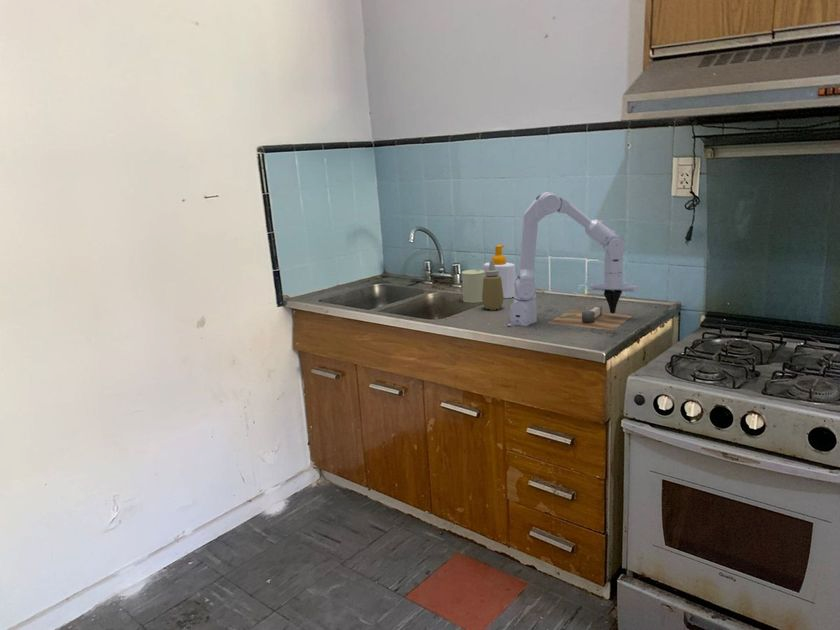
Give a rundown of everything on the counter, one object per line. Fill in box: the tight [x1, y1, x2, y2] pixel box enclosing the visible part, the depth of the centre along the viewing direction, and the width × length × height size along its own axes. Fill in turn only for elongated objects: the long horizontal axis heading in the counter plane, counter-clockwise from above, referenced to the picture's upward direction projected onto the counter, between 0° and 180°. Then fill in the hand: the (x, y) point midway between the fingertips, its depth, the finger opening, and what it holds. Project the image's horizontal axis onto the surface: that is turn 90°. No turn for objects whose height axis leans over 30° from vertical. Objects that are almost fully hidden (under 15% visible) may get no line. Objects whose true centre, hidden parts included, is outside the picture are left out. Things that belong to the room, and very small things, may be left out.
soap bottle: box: [483, 244, 516, 299], centre depth 250 cm, size 13×8×20 cm, turn 56°
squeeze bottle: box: [482, 259, 505, 311], centre depth 231 cm, size 8×8×18 cm
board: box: [547, 309, 633, 331], centre depth 207 cm, size 19×22×1 cm
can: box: [461, 269, 485, 304], centre depth 247 cm, size 9×9×12 cm
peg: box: [582, 305, 603, 323], centre depth 207 cm, size 13×4×3 cm, turn 145°
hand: (612, 312), depth 207 cm, fingers closed
